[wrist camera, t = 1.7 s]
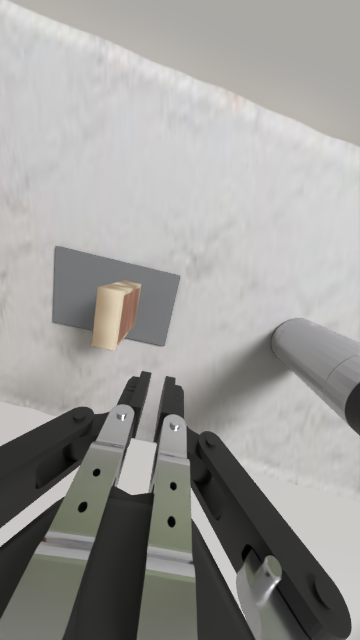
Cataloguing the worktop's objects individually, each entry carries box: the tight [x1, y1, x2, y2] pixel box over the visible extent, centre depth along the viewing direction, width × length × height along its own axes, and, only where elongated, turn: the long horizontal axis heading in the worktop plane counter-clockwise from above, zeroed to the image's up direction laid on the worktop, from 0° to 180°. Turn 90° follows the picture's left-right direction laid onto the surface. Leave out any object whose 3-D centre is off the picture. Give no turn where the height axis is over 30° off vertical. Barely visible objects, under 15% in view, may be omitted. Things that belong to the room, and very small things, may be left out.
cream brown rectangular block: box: [92, 280, 142, 350], centre depth 29 cm, size 3×8×11 cm, turn 167°
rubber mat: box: [53, 246, 180, 346], centre depth 34 cm, size 22×14×1 cm, turn 77°
